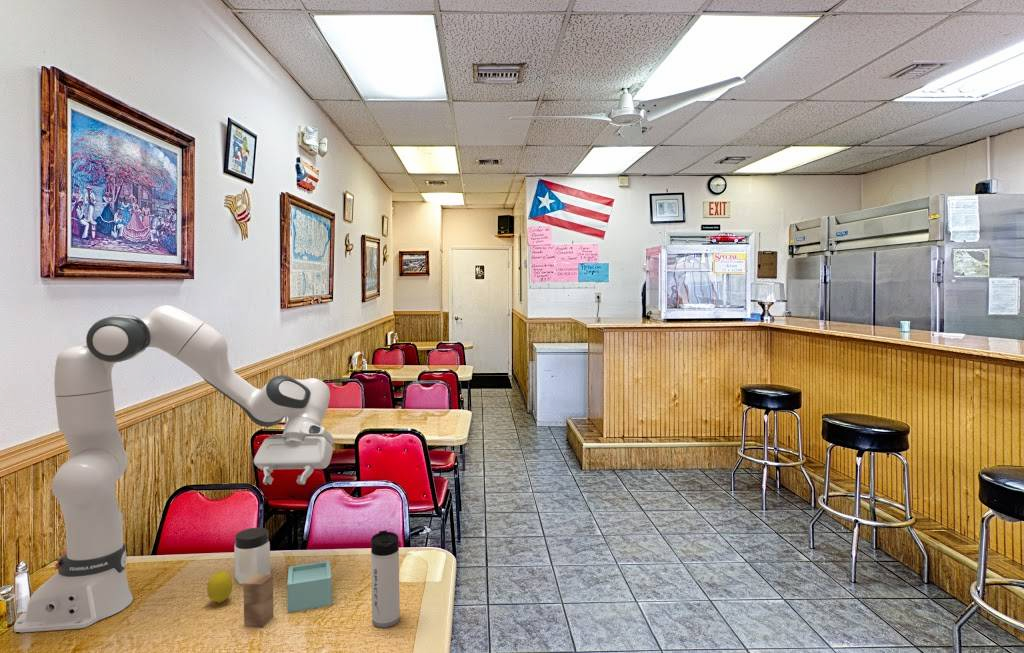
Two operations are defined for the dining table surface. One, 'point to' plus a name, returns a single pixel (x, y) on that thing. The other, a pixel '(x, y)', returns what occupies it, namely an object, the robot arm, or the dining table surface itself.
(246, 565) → the jar
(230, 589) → the lemon
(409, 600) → the dining table surface
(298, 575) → the teal box
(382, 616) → the travel mug
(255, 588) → the walnut block
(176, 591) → the dining table surface
